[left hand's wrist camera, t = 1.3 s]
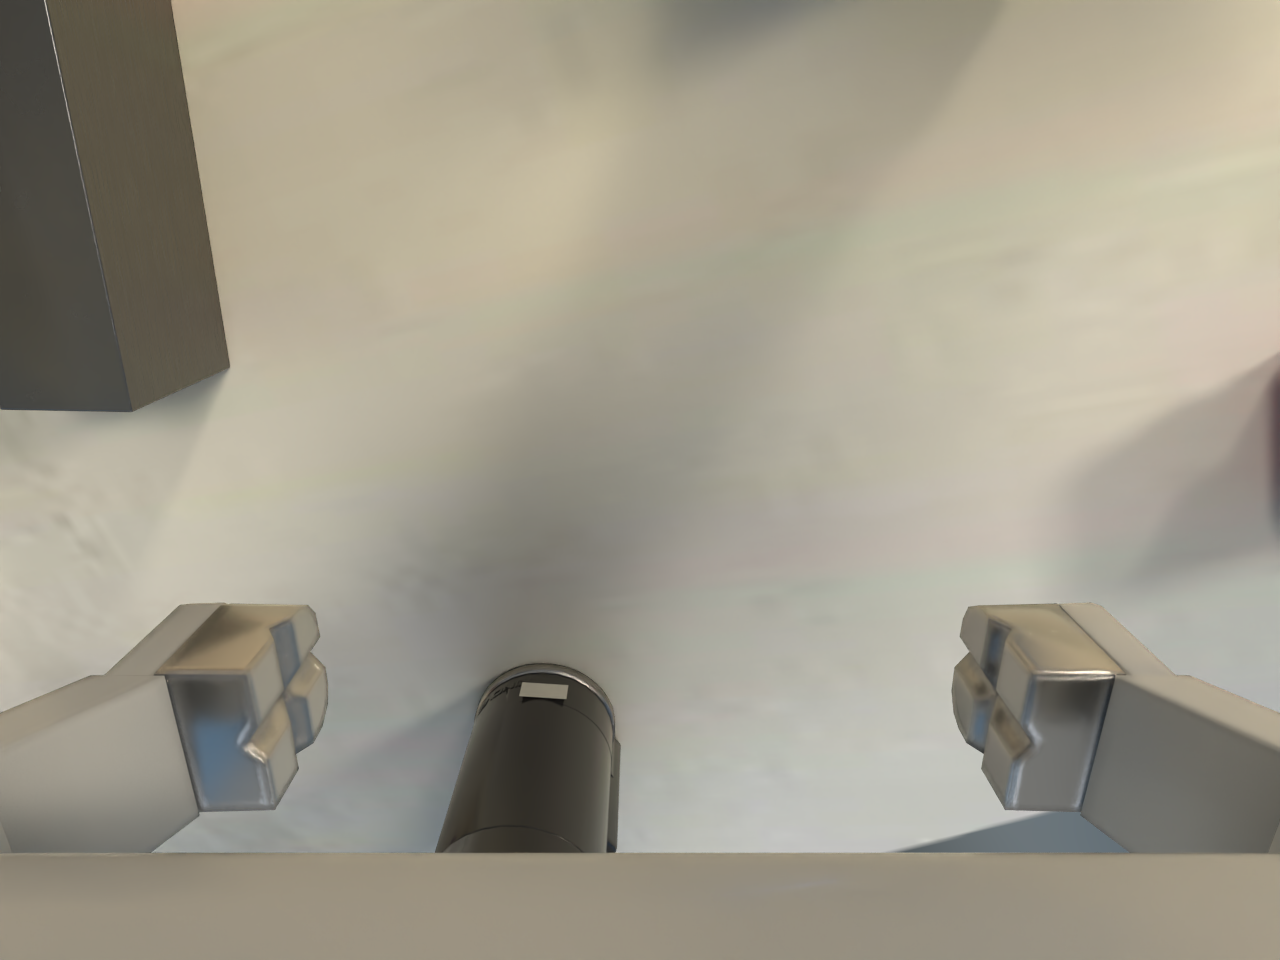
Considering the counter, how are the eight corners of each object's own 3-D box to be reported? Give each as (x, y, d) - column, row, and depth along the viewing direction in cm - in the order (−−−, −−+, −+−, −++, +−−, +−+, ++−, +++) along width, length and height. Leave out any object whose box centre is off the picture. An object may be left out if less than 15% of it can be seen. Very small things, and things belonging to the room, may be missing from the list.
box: (7, -192, 37) (-195, -310, 28) (140, -189, 37) (-19, -306, 28) (123, 365, 46) (-1, 409, 37) (230, 367, 46) (132, 412, 37)
